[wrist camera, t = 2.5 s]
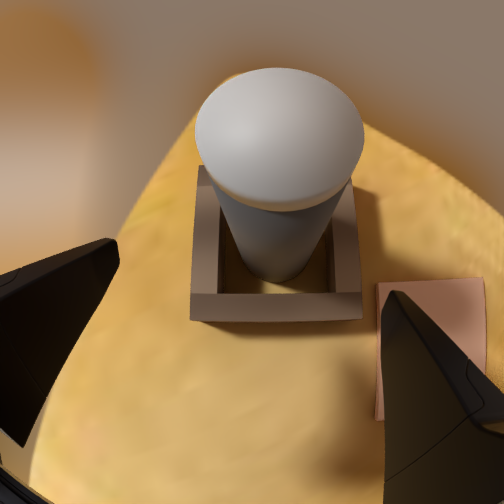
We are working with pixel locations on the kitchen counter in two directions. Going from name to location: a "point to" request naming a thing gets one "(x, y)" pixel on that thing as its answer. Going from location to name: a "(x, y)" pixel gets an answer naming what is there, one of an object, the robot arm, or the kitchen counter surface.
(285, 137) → the grey cylinder
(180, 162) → the kitchen counter surface
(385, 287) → the terracotta tile
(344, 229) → the walnut collar
